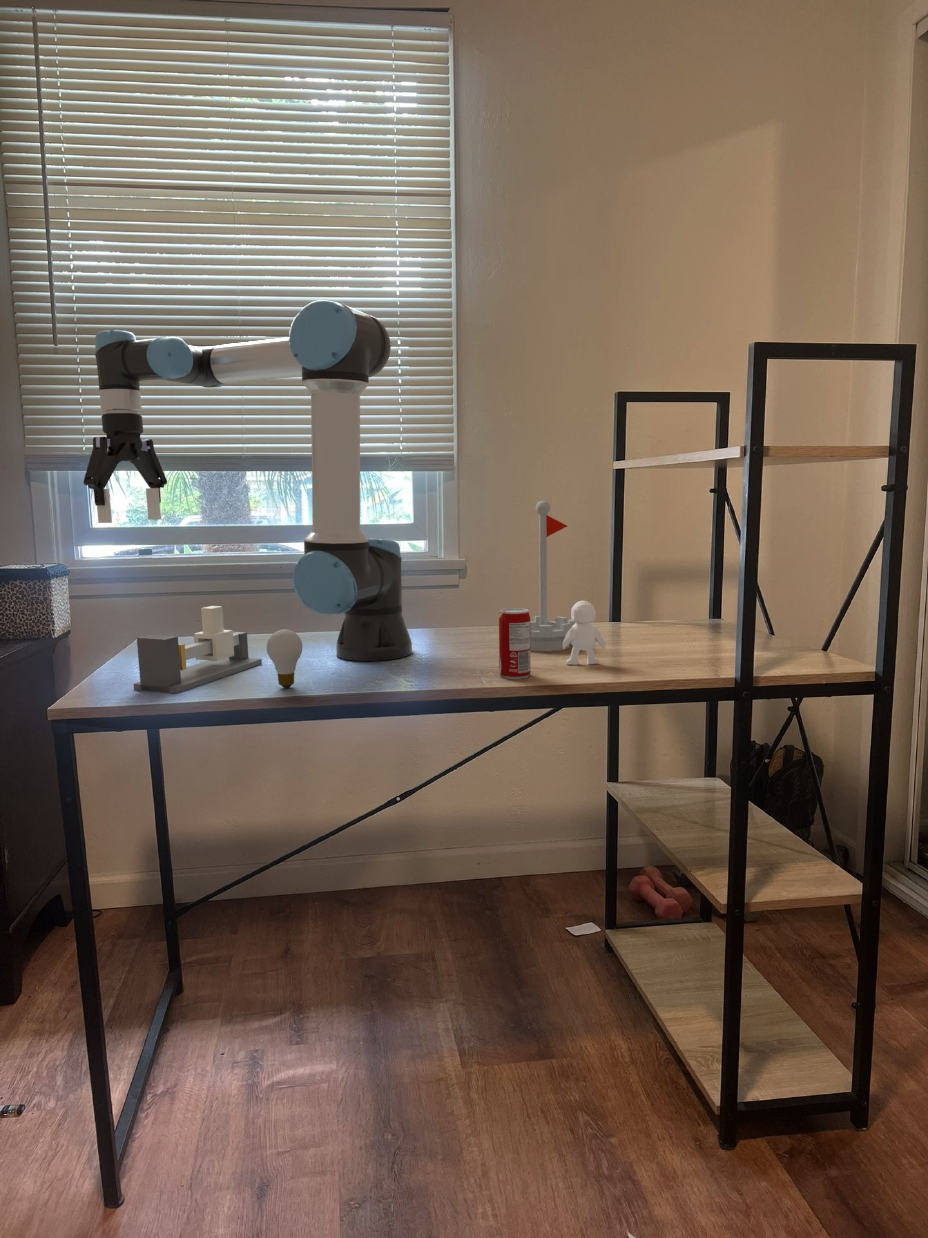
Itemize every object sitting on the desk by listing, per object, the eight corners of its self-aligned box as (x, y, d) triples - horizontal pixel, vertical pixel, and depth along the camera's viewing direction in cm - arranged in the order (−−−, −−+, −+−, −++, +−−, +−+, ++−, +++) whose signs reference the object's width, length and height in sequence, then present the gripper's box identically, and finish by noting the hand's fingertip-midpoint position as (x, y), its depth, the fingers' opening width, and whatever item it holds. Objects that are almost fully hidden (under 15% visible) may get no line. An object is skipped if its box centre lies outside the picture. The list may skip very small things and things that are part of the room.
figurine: (563, 667, 153) (563, 602, 151) (559, 662, 158) (559, 599, 156) (606, 666, 154) (607, 601, 152) (601, 661, 158) (601, 598, 156)
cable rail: (261, 664, 161) (259, 617, 159) (176, 693, 139) (172, 640, 137) (223, 661, 164) (220, 615, 163) (134, 689, 142) (129, 637, 141)
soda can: (508, 671, 151) (508, 605, 149) (535, 674, 148) (535, 607, 146) (493, 677, 146) (493, 609, 144) (521, 681, 144) (521, 611, 142)
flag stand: (503, 650, 171) (501, 501, 166) (523, 638, 182) (522, 500, 178) (564, 654, 166) (565, 501, 161) (581, 642, 177) (582, 499, 173)
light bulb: (271, 684, 144) (268, 627, 142) (306, 683, 144) (303, 626, 143) (266, 692, 138) (263, 633, 137) (302, 691, 139) (299, 632, 137)
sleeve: (234, 655, 156) (231, 605, 155) (217, 661, 151) (213, 609, 150) (213, 654, 158) (209, 604, 156) (195, 659, 153) (192, 608, 152)
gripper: (151, 418, 178) (159, 518, 182) (56, 409, 156) (67, 524, 159) (179, 416, 176) (187, 518, 179) (86, 407, 153) (97, 524, 156)
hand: (130, 521), depth 169 cm, fingers open, 13 cm apart
